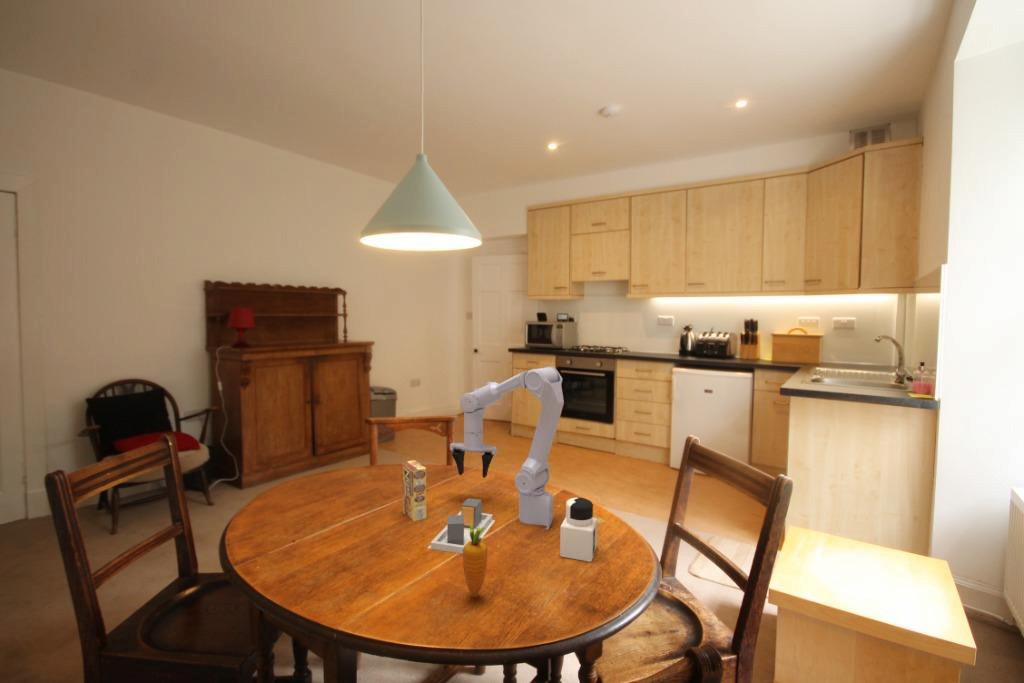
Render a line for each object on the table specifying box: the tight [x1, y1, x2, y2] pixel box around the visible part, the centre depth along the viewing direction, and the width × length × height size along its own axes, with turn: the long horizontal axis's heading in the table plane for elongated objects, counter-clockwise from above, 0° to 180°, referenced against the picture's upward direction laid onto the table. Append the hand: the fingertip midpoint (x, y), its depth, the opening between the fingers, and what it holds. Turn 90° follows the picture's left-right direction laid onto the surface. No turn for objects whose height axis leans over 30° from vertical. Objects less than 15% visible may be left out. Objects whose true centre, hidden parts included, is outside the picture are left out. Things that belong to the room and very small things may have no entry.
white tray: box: [427, 510, 496, 555], centre depth 122 cm, size 11×20×2 cm, turn 164°
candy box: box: [401, 460, 427, 522], centre depth 133 cm, size 9×4×15 cm, turn 33°
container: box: [559, 497, 598, 563], centre depth 115 cm, size 8×8×13 cm
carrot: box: [462, 524, 488, 598], centre depth 95 cm, size 5×5×15 cm
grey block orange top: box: [446, 514, 464, 545], centre depth 117 cm, size 4×5×6 cm
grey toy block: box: [460, 497, 483, 529], centre depth 127 cm, size 4×5×6 cm
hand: (472, 475), depth 142 cm, fingers open, 7 cm apart
